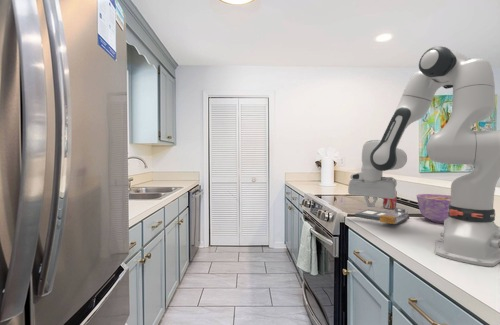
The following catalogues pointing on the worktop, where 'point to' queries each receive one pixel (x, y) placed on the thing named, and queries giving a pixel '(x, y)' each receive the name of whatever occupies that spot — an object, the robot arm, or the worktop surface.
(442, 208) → the purple bowl
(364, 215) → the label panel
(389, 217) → the swing arm
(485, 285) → the worktop surface
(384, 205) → the soda can
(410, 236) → the worktop surface
